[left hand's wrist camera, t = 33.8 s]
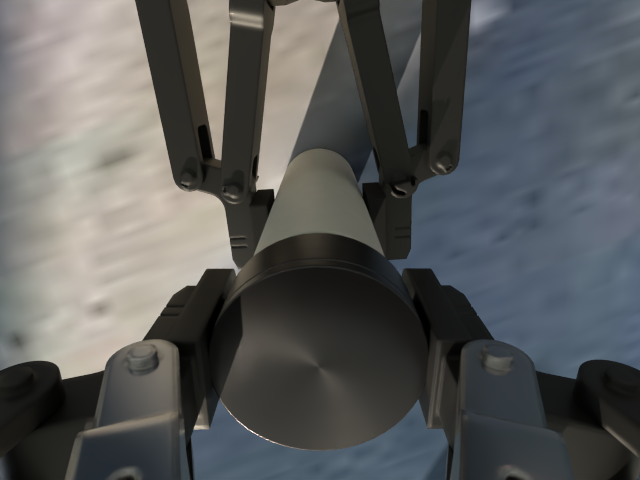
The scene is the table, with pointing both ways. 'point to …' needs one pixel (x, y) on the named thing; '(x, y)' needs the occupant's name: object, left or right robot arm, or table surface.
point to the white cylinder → (319, 201)
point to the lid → (318, 344)
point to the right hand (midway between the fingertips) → (326, 319)
